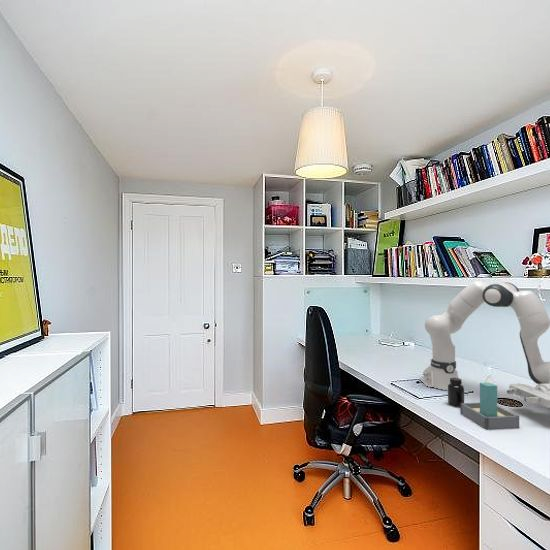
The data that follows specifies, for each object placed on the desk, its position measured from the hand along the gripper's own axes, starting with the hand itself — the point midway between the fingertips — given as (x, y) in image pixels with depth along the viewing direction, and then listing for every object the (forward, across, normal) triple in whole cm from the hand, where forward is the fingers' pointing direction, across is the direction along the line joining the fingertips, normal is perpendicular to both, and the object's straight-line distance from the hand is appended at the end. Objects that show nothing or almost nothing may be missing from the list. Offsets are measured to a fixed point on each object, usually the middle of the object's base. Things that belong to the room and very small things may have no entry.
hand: (516, 395), depth 148 cm
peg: (+12, 0, +10) cm, 16 cm away
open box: (+12, 0, +10) cm, 16 cm away
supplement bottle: (+15, -18, +10) cm, 26 cm away
